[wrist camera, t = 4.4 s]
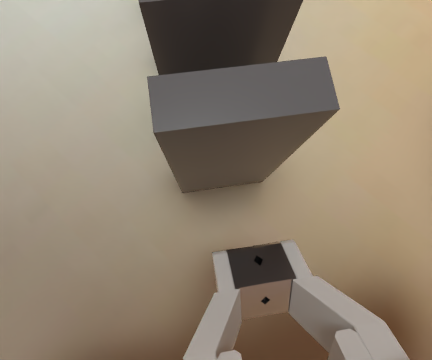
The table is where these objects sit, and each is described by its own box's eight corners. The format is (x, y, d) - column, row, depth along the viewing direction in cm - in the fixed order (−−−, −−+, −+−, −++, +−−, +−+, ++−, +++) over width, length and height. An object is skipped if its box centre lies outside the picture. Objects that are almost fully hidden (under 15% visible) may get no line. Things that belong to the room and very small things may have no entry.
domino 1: (251, 122, 18) (308, -14, 8) (174, 131, 18) (138, 2, 8) (247, 98, 18) (297, -59, 9) (171, 108, 18) (133, -46, 8)
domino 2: (262, 181, 17) (339, 109, 7) (182, 192, 17) (153, 132, 7) (257, 156, 18) (325, 54, 8) (179, 166, 17) (147, 74, 7)
